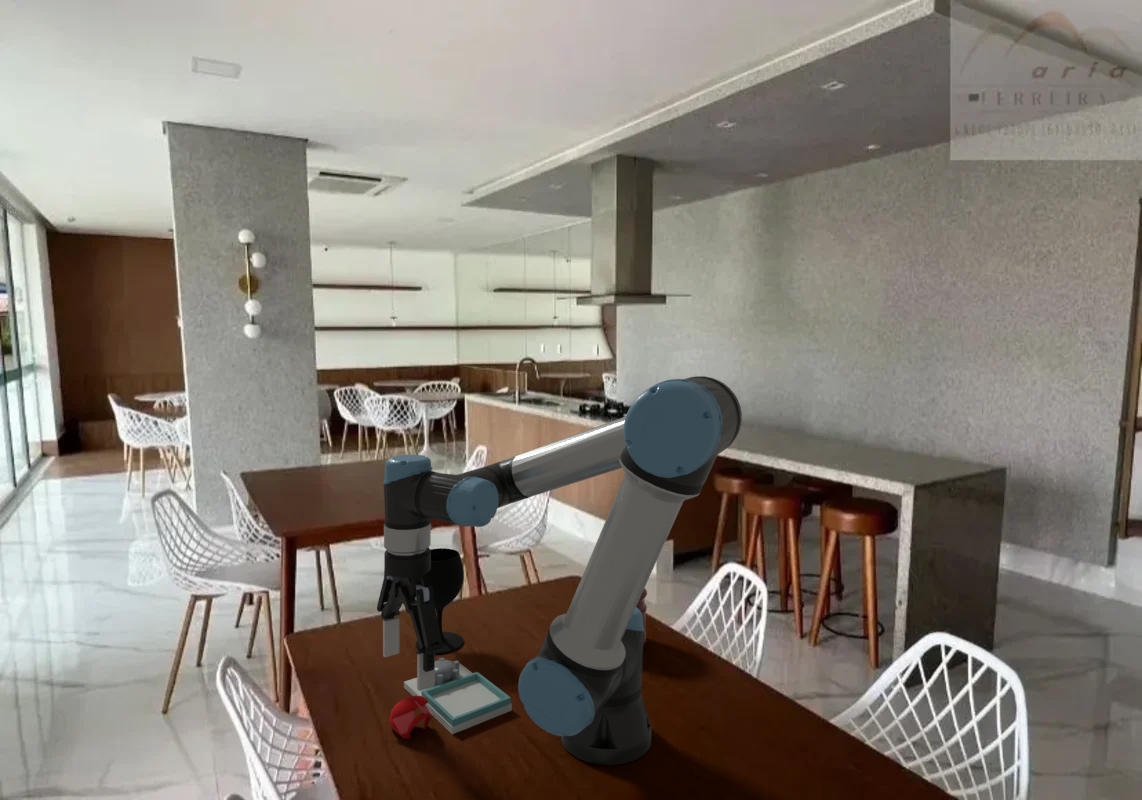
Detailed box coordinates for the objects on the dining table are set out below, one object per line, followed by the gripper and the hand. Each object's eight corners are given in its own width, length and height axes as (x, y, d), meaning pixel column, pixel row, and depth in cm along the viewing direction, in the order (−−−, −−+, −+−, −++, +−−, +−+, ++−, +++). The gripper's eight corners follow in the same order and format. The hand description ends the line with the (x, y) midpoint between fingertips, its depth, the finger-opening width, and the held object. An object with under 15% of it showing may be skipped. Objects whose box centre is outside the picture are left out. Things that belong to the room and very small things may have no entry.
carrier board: (511, 710, 121) (511, 690, 121) (452, 734, 114) (452, 713, 113) (459, 668, 136) (459, 651, 135) (404, 687, 128) (403, 669, 128)
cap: (444, 708, 116) (425, 681, 118) (423, 714, 110) (403, 685, 113) (416, 743, 116) (397, 715, 119) (394, 750, 111) (375, 721, 114)
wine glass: (406, 642, 147) (405, 553, 145) (447, 629, 154) (446, 544, 152) (431, 659, 139) (430, 566, 138) (473, 644, 146) (472, 555, 145)
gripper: (465, 565, 104) (463, 695, 107) (397, 526, 124) (397, 637, 126) (420, 575, 100) (420, 711, 102) (357, 533, 119) (358, 648, 121)
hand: (407, 670), depth 114 cm, fingers open, 13 cm apart
